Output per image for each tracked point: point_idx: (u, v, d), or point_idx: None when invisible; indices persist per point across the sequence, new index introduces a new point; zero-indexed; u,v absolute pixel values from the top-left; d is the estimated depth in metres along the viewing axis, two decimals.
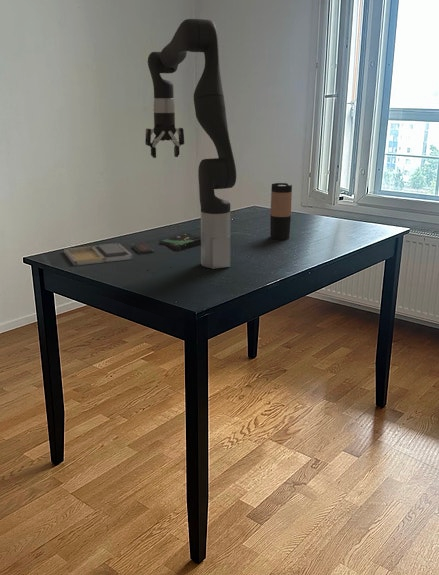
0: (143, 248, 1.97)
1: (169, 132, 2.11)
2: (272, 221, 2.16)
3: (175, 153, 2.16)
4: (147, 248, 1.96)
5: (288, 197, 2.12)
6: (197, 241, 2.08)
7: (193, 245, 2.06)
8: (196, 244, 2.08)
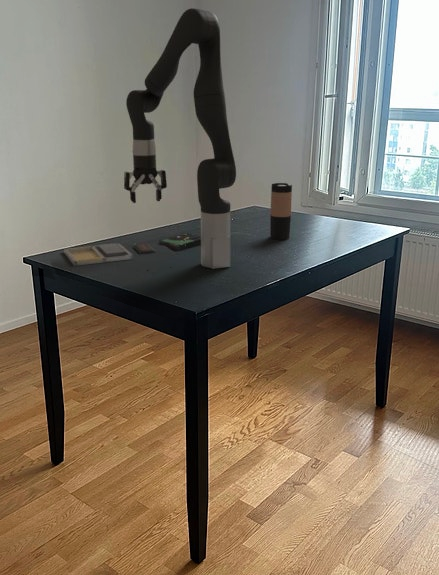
0: (145, 248, 1.97)
1: (150, 175, 1.95)
2: (272, 221, 2.16)
3: (157, 197, 2.00)
4: (148, 248, 1.97)
5: (288, 197, 2.12)
6: (197, 241, 2.08)
7: (193, 245, 2.06)
8: (196, 244, 2.08)
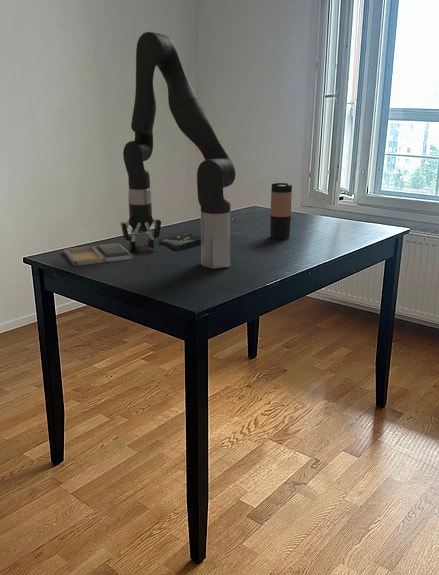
0: (143, 247, 1.97)
1: (146, 223, 1.95)
2: (272, 221, 2.16)
3: None
4: (146, 247, 1.96)
5: (288, 197, 2.12)
6: (197, 241, 2.08)
7: (193, 245, 2.06)
8: (196, 244, 2.08)
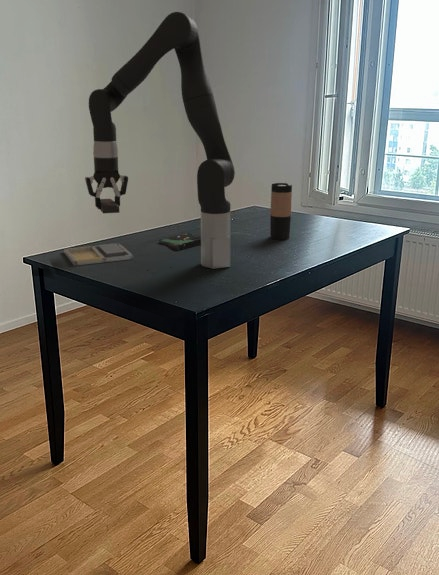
0: (108, 203, 1.87)
1: (111, 179, 1.86)
2: (272, 221, 2.16)
3: None
4: (112, 203, 1.87)
5: (288, 197, 2.12)
6: (196, 241, 2.08)
7: (192, 245, 2.06)
8: (195, 244, 2.08)
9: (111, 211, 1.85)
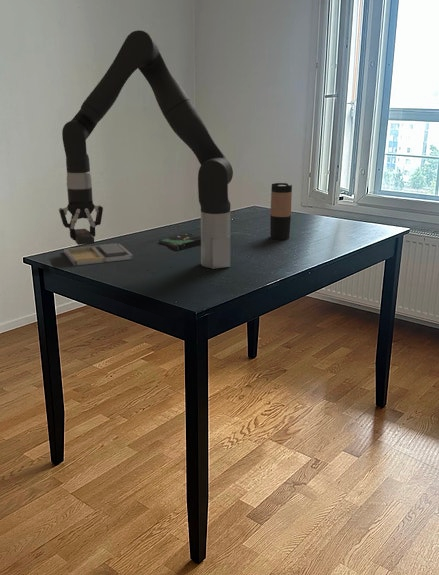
0: (83, 234, 1.85)
1: (85, 209, 1.84)
2: (272, 221, 2.16)
3: None
4: (87, 234, 1.85)
5: (288, 197, 2.12)
6: (196, 241, 2.08)
7: (192, 245, 2.06)
8: (195, 244, 2.08)
9: (86, 242, 1.83)
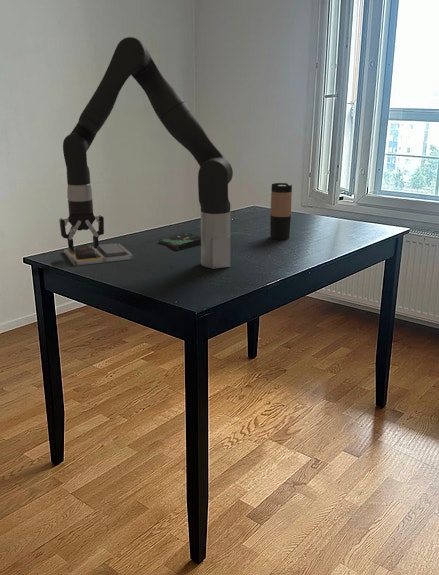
0: (85, 251, 1.87)
1: (86, 221, 1.85)
2: (272, 221, 2.16)
3: (94, 244, 1.90)
4: (89, 251, 1.87)
5: (288, 197, 2.12)
6: (196, 241, 2.08)
7: (192, 245, 2.06)
8: (195, 244, 2.08)
9: None
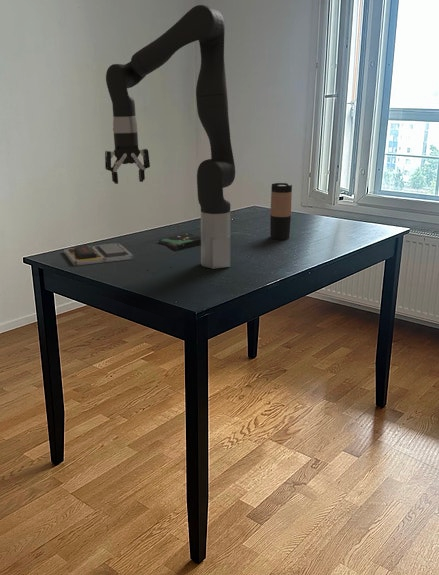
0: (85, 250, 1.87)
1: (132, 154, 1.86)
2: (272, 221, 2.16)
3: (140, 177, 1.91)
4: (89, 251, 1.87)
5: (288, 197, 2.12)
6: (196, 241, 2.08)
7: (192, 245, 2.06)
8: (195, 244, 2.08)
9: None
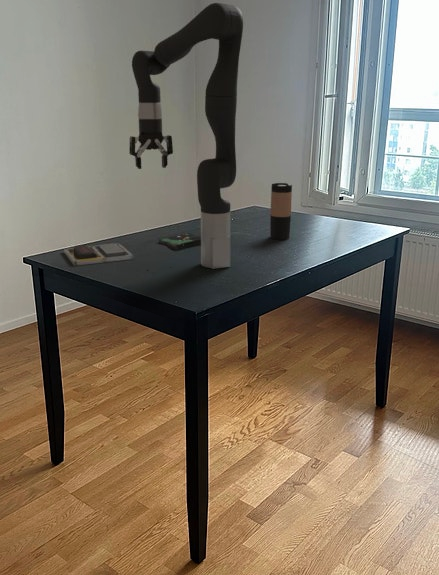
0: (85, 250, 1.87)
1: (156, 140, 1.89)
2: (272, 221, 2.16)
3: (163, 163, 1.95)
4: (89, 250, 1.87)
5: (288, 197, 2.12)
6: (196, 241, 2.08)
7: (191, 245, 2.07)
8: (195, 244, 2.08)
9: None
